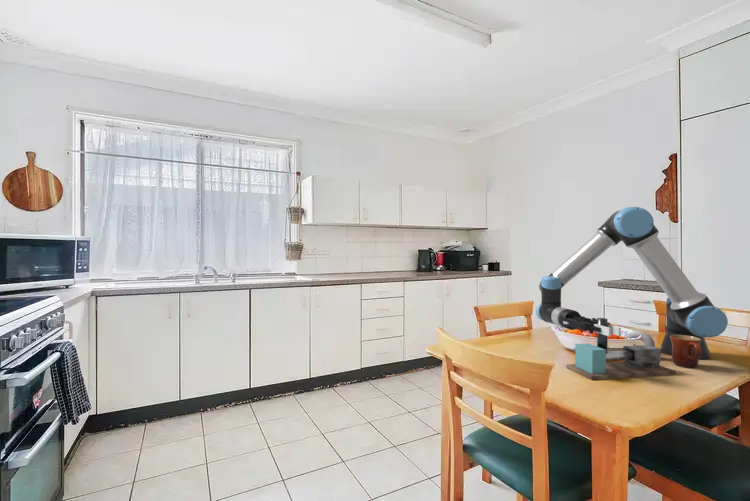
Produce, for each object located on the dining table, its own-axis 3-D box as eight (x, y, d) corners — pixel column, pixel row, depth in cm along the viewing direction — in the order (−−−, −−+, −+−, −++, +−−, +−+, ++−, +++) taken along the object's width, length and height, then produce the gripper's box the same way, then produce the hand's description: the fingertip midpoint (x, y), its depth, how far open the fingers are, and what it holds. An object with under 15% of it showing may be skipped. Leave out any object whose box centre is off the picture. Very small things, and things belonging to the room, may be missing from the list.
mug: (664, 361, 138) (664, 334, 138) (691, 362, 137) (691, 335, 136) (684, 371, 127) (684, 342, 126) (713, 373, 125) (713, 343, 125)
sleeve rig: (644, 363, 136) (644, 342, 135) (675, 374, 124) (675, 351, 124) (566, 368, 130) (566, 345, 130) (591, 380, 119) (591, 355, 118)
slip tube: (632, 357, 130) (632, 316, 129) (640, 359, 127) (640, 318, 126) (586, 360, 127) (586, 318, 126) (592, 362, 124) (592, 320, 124)
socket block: (588, 365, 130) (588, 343, 129) (605, 373, 122) (605, 349, 122) (575, 366, 129) (575, 344, 129) (592, 373, 121) (592, 350, 121)
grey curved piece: (656, 358, 142) (656, 332, 142) (653, 360, 139) (653, 334, 139) (625, 352, 149) (626, 328, 149) (623, 354, 147) (623, 329, 147)
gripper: (584, 327, 145) (635, 342, 122) (548, 328, 143) (592, 344, 119) (585, 308, 145) (636, 319, 122) (548, 309, 142) (593, 321, 119)
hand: (614, 331), depth 121 cm, fingers closed on slip tube, 3 cm apart
